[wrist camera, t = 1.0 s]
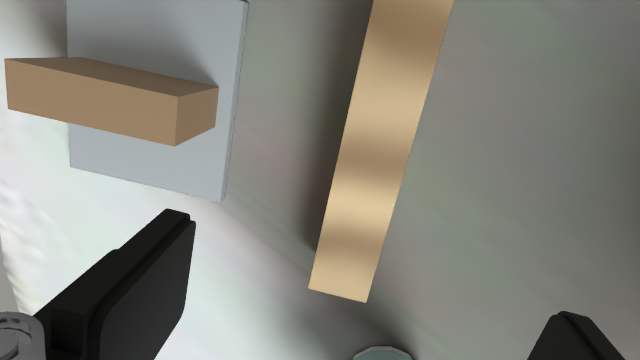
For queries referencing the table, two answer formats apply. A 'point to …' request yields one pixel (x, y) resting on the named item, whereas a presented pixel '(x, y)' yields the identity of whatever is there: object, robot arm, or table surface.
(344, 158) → the oak bar
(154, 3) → the stand
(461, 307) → the table surface
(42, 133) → the table surface
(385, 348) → the disposable coffee cup
